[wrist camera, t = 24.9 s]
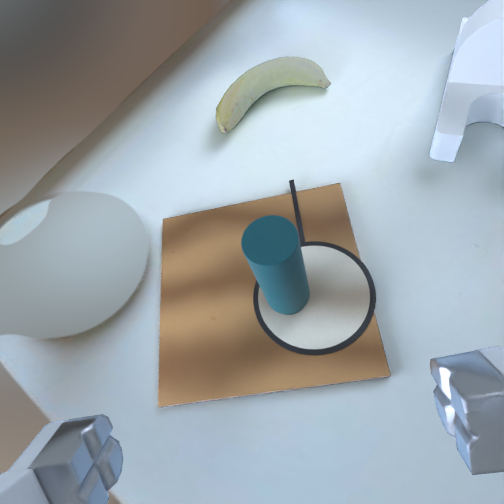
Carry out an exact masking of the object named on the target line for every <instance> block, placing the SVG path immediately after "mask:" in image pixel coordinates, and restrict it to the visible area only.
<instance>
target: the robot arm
mask: <svg viewBox="0 0 504 504" xmlns="http://www.w3.org/2000/svg"><path fill="white" fill-rule="evenodd" d="M430 369H431V375H432V377H433V378H434V380H435V381H436V383H437V386H436V388H435V389H434V398H435V404H436V407H437V410H438V414H439V417H440V419H441V421H442V423H443V426H444V427H445V429H446V431H447V433H448V434H450V435H451V436H453V437H455V438H456V444H457V450H458V452H459V453H460V455H461V457H462V458H463V460H464V462H465V463H466V465H467V467H468V468H469V470H470V472H471V473H472V475H477V474H487V473H496V472H504V348H503V347H501V346H493V347H488V348H484V349H479V350H475V351H471V352H466V353H460V354H455V355H449V356H444V357H439V358H433V359H431V360H430ZM112 429H113V426H112V424H111V422H110V420H109V418H108V417H107V416H105V415H103V414H102V415H95V416H89V417H82V418H75V419H69V420H62V421H56V422H51V423H49V424H47V425H45V426H44V427H43V428H42V430H41V431H40V432H39V433H38V435H37V436H36V437H35V438H34V440H33V441H32V442H31V443H30V444H29V446H28V447H27V448H26V449H25V450H24V452H23V453H22V454H21V455H20V457H19V458H18V459H17V460H16V461H15V463H14V464H13V465H12V466H11V467H10V469H9V470H8V471H7V472H6V473H1V474H0V504H107V502H108V500H109V496H108V492H107V491H108V490H109V489H110V488H111V487H112V486H113V485H114V484H115V483H117V481H118V479H119V476H120V474H121V471H122V464H123V455H122V449H121V446H120V444H119V441H117V440H116V439H115V438H113V437H112V436H111V435H110V434H111V432H112Z"/></svg>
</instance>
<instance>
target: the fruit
mask: <svg viewBox="0 0 504 504" xmlns="http://www.w3.org/2000/svg"><path fill="white" fill-rule="evenodd" d="M330 84H331V82H330V81H329V80H328V79H327V77H326V76H325V74H324V72H323V70H322V69H321V67H320V66H319V65H318V64H316V63H315V62H313V61H311V60H309V59H305V58H300V57H281V58H276V59H272V60H269V61H266V62H264V63H261V64H259V65H257V66H255V67H253V68H251V69H250V70H248V71H247V72H245V73H244V74H243V75H241V76H240V77H239V78H238V79H237V80H236V81H235V82H234V83H233V84H232V85H231V86H230V87H229V88H228V90H227V91H226V92H225V94H224V95H223V97H222V99H221V101H220V102H219V104H218V106H217V108H216V120H217V123H218V125H219V128H220V131H221V132H222V133H228V132H229V131H230V130H231V129H232V128H234V127H235V126H236V125H237V124H238V122H239V121H240V120H241V119H242V117H243V116H244V114H245V113H246V111H247V110H248V109H249V107H250V106H251V105H252V104H253V103H254V102H255V101H256V100H257V99H258V98H259V97H261V96H262V95H263V94H265V93H267V92H269V91H271V90H273V89H276V88H279V87H283V86H289V85H303V86H316V87H322V88H325V89H326V88H328V86H330Z"/></svg>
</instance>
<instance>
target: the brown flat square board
mask: <svg viewBox="0 0 504 504" xmlns="http://www.w3.org/2000/svg"><path fill="white" fill-rule="evenodd" d="M289 183H290V189H291V193H288V194H283V195H278V196H273V197H269V198H264V199H259V200H254V201H249V202H244V203H239V204H234V205H229V206H224V207H220V208H215V209H210V210H205V211H200V212H195V213H190V214H185V215H180V216H176V217H171V218H166V219H163V232H162V270H161V309H160V348H159V386H158V407H168V406H176V405H183V404H191V403H198V402H206V401H213V400H221V399H228V398H236V397H243V396H250V395H258V394H265V393H273V392H280V391H288V390H295V389H303V388H310V387H318V386H325V385H333V384H340V383H348V382H355V381H363V380H370V379H378V378H385V377H390V376H391V374H390V370H389V366H388V363H387V359H386V355H385V351H384V348H383V344H382V340H381V336H380V332H379V329H378V325H377V321H376V317H375V313H374V309H375V303H376V292H375V286H374V282H373V280H372V277H371V275H370V273H369V271H368V269H367V268H366V266H365V265H364V264H363V263H362V262H361V260H360V257H359V253H358V249H357V245H356V241H355V238H354V234H353V230H352V226H351V222H350V219H349V215H348V211H347V207H346V204H345V200H344V196H343V192H342V188H341V185H340V183H337V184H332V185H327V186H322V187H317V188H313V189H308V190H303V191H298V192H296V190H295V185H294V180H290V181H289ZM268 215H278V216H282V217H284V218H286V219H288V220H290V221H291V222H292V223H293V224H294V225H295V227H296V229H297V231H298V235H299V240H300V245H301V250H302V255H303V260H304V265H305V270H306V274H307V279H308V284H309V289H310V297H309V300H308V302H307V304H306V306H305V307H304V308H303V309H302V310H301V311H299V312H298V313H296V314H292V315H285V314H280V313H278V312H276V311H274V310H273V309H272V308H271V307H270V306H269V304H268V302H267V300H266V298H265V296H264V294H263V292H262V290H261V288H260V286H259V284H258V282H257V280H256V278H255V276H254V273H253V271H252V269H251V267H250V265H249V263H248V261H247V259H246V257H245V255H244V253H243V251H242V247H241V239H242V235H243V233H244V231H245V229H246V228H247V227H248V225H249V224H250V223H252V222H253V221H254V220H256V219H258V218H260V217H263V216H268Z"/></svg>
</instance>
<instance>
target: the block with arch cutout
mask: <svg viewBox="0 0 504 504" xmlns="http://www.w3.org/2000/svg"><path fill="white" fill-rule="evenodd" d="M475 122H492V123H496V124H498V125H501V126H502V127H504V0H490V1H488V2H486V3H485V4H484V5H482V6H481V7H480V8H479V9H478V10H477V11H476V12H474V13H473V14H472V16H471V17H470V18H463V19H462V22H461V26H460V30H459V34H458V37H457V41H456V45H455V49H454V53H453V57H452V61H451V66H450V70H449V74H448V78H447V82H446V87H445V91H444V95H443V99H442V103H441V108H440V112H439V116H438V120H437V124H436V129H435V133H434V137H433V141H432V146H431V150H430V157H431V158H432V159H434V160H441V161H448V162H454V160H455V157H456V154H457V152H458V149H459V146H460V144H461V141H462V138H463V135H464V130H465V127H466V126H467V125H469V124H472V123H475Z"/></svg>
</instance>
